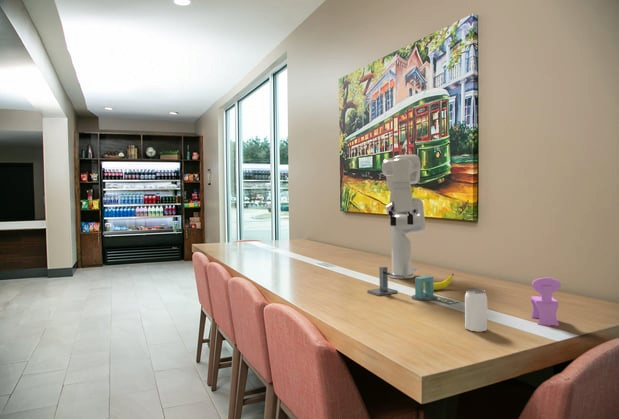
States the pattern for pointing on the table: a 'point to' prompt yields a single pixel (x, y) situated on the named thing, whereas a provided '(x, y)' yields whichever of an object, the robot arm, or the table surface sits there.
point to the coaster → (425, 298)
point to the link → (428, 287)
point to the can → (476, 310)
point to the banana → (441, 283)
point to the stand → (384, 283)
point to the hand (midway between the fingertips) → (401, 225)
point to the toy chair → (545, 301)
